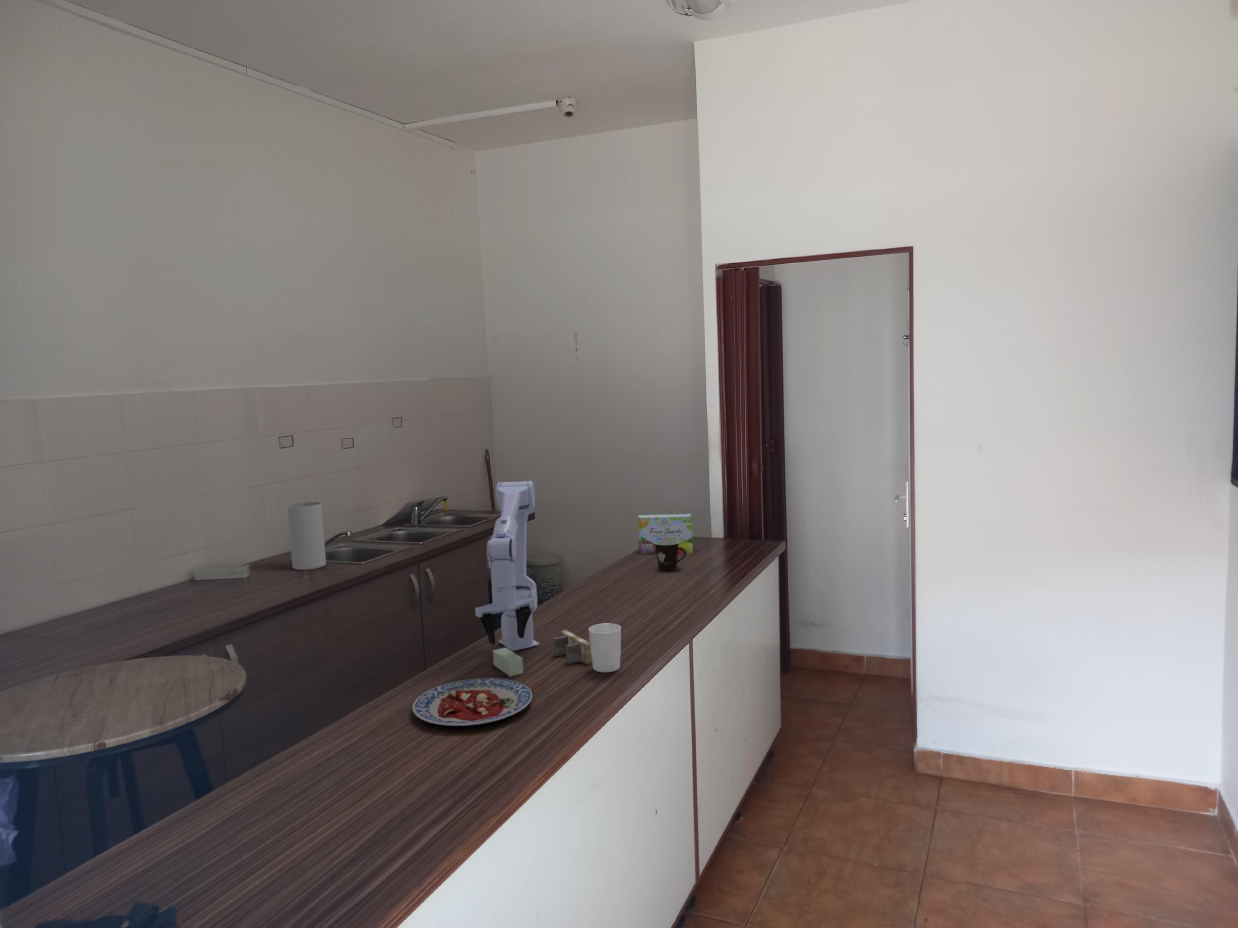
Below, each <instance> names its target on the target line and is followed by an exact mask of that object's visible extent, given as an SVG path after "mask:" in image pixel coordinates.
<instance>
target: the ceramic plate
mask: <svg viewBox="0 0 1238 928" xmlns="http://www.w3.org/2000/svg"><path fill="white" fill-rule="evenodd" d="M532 698H533V693H532V690H531V689H530V688H529V687H528V686H527V685H525V684H523V683H520V682H518V681H516V680H511V679H504V678H498V677H497V678H495V677H484V678H483V677H482V678H480V677H479V678H469V679H463V680H456V681H452V682H449V683H444V684H442V685H438V686H436V687H434V688H431V689H428V690H427V691H425V692H423V693H422V694H421V695H420V696H418V697H417V698H416V699H415V701H414V702H413V704H412V711H413V714H414V715H415V716H416V717H417V718H419V719H420V720H422V721H424V722H427V723H430V724H435V725H439V726H451V727H452V726H453V727H459V726H460V727H462V726H463V727H464V726H465V727H466V726H475V725H483V724H488V723H492V722H496V721H500V720H504V719H506V718H509V717H511V716H514V715H515V714H518V712H521V711H523V710H524V709H526V707H528V705H529V704H530V703H531V701H532Z"/></svg>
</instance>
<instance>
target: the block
mask: <svg viewBox="0 0 1238 928" xmlns="http://www.w3.org/2000/svg"><path fill="white" fill-rule="evenodd" d="M492 661H493V666H494V667H496V668H497V669H499V671H502V673H504V674H506V675H508V676H509V677H513V676H518V675H522V674H524V662H523V661H524V660H523V657H521V656H519V654H517V653H515V652H514V651H512V650H510V649H509V648H507V647H501V648H498V649H492Z"/></svg>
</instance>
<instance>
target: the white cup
mask: <svg viewBox="0 0 1238 928" xmlns="http://www.w3.org/2000/svg"><path fill="white" fill-rule="evenodd" d="M588 636H589V643H590V648H591V658H592V663H591V664H592V669H593V670H594V671H595V672H599V673H612V672H615V671H618V670H619V669H621V655H622V654H621V653H622V627H621V625H619V624H616V623H609V622H607V623H606V622H605V623H604V622H603V623H597V624H593V625H591V626H589V628H588Z"/></svg>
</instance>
